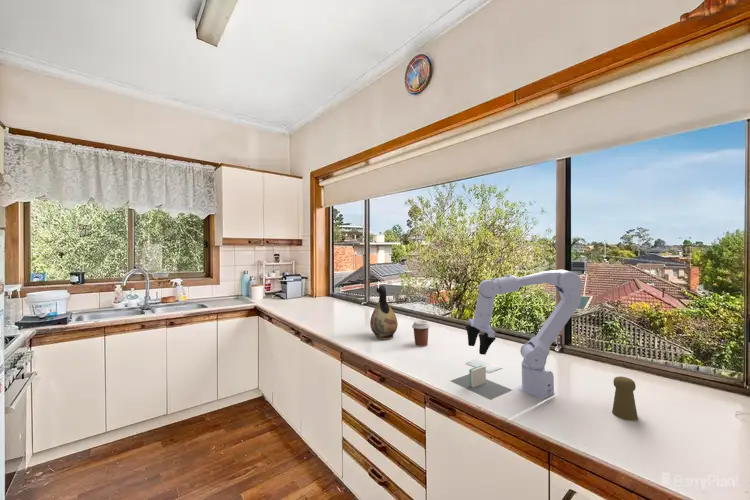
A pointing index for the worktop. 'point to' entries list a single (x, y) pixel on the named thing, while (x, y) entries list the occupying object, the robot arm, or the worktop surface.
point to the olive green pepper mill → (624, 399)
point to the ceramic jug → (383, 318)
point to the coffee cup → (421, 333)
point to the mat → (482, 387)
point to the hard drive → (489, 367)
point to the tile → (477, 376)
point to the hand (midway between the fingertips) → (476, 349)
